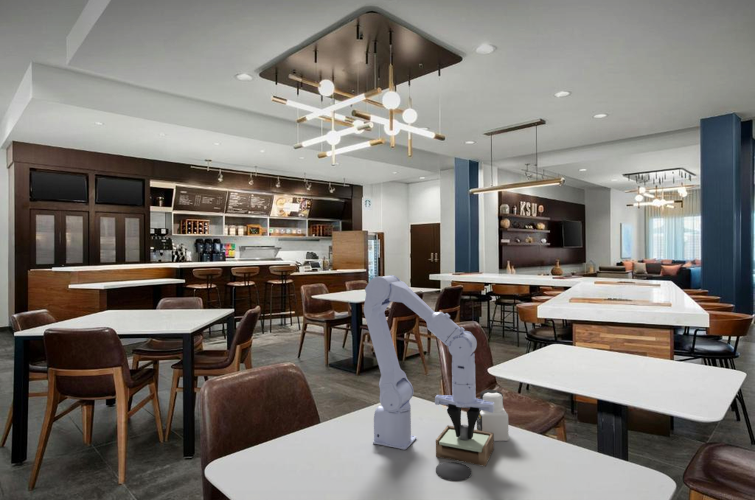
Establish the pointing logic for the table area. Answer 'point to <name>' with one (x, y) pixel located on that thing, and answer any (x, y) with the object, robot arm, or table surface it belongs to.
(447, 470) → the rubber coaster
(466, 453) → the walnut box
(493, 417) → the medicine bottle
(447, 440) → the cover plate
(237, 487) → the table surface
